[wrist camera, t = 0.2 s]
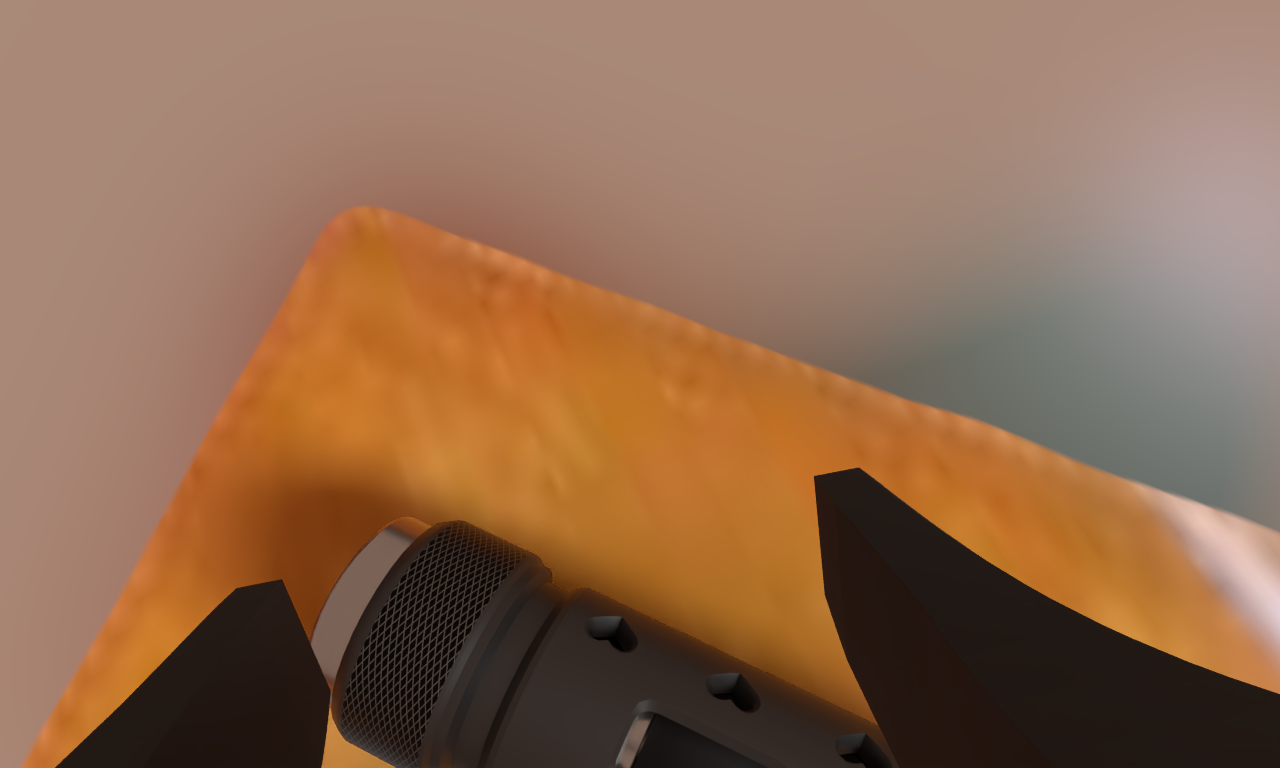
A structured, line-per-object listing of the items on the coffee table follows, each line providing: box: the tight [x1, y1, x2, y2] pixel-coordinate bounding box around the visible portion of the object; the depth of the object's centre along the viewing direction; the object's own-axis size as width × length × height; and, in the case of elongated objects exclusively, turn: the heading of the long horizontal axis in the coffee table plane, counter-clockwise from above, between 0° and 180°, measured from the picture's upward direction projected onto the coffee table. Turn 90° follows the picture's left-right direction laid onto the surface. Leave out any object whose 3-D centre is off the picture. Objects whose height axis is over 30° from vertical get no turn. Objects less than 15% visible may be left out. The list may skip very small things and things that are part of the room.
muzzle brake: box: [309, 516, 899, 768], centre depth 36 cm, size 10×28×10 cm, turn 65°
